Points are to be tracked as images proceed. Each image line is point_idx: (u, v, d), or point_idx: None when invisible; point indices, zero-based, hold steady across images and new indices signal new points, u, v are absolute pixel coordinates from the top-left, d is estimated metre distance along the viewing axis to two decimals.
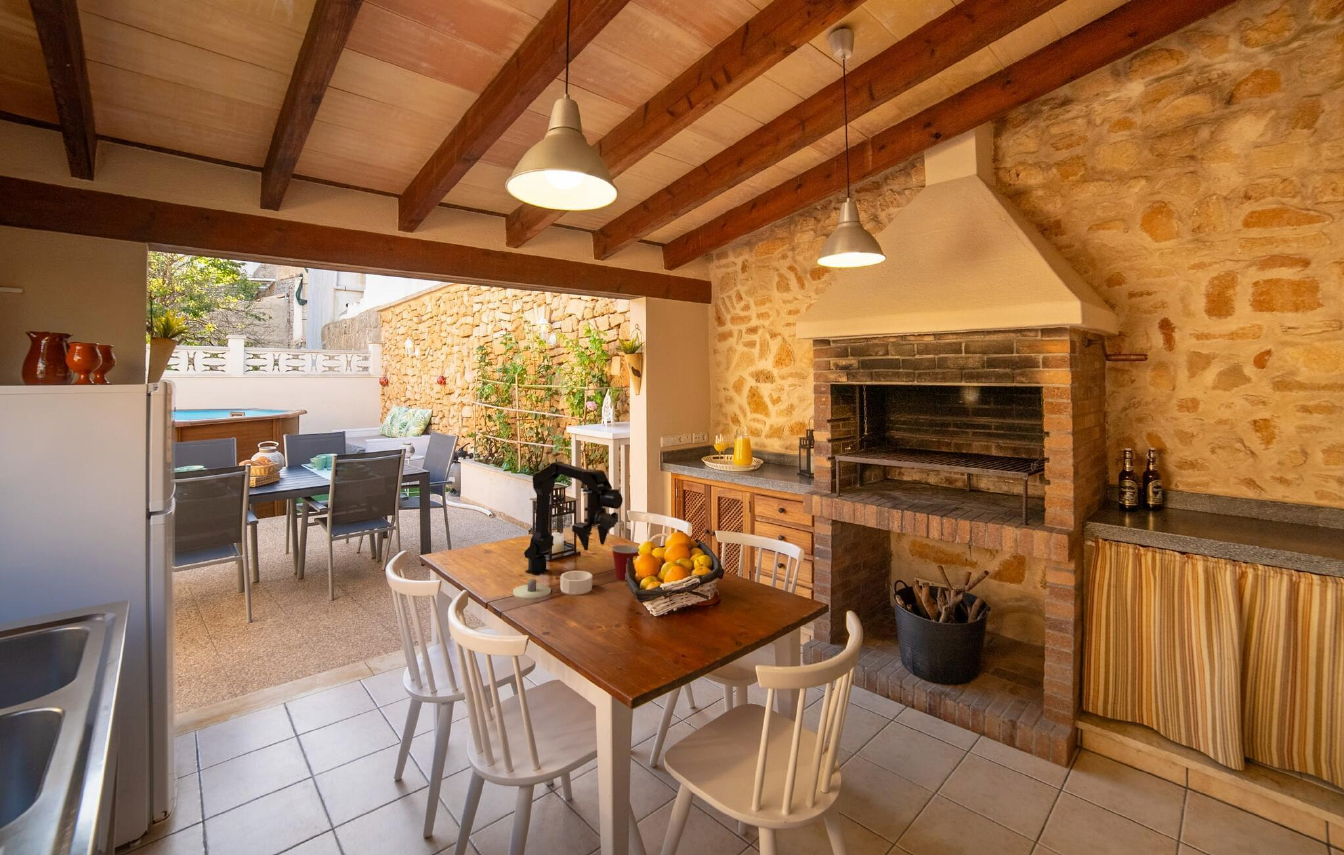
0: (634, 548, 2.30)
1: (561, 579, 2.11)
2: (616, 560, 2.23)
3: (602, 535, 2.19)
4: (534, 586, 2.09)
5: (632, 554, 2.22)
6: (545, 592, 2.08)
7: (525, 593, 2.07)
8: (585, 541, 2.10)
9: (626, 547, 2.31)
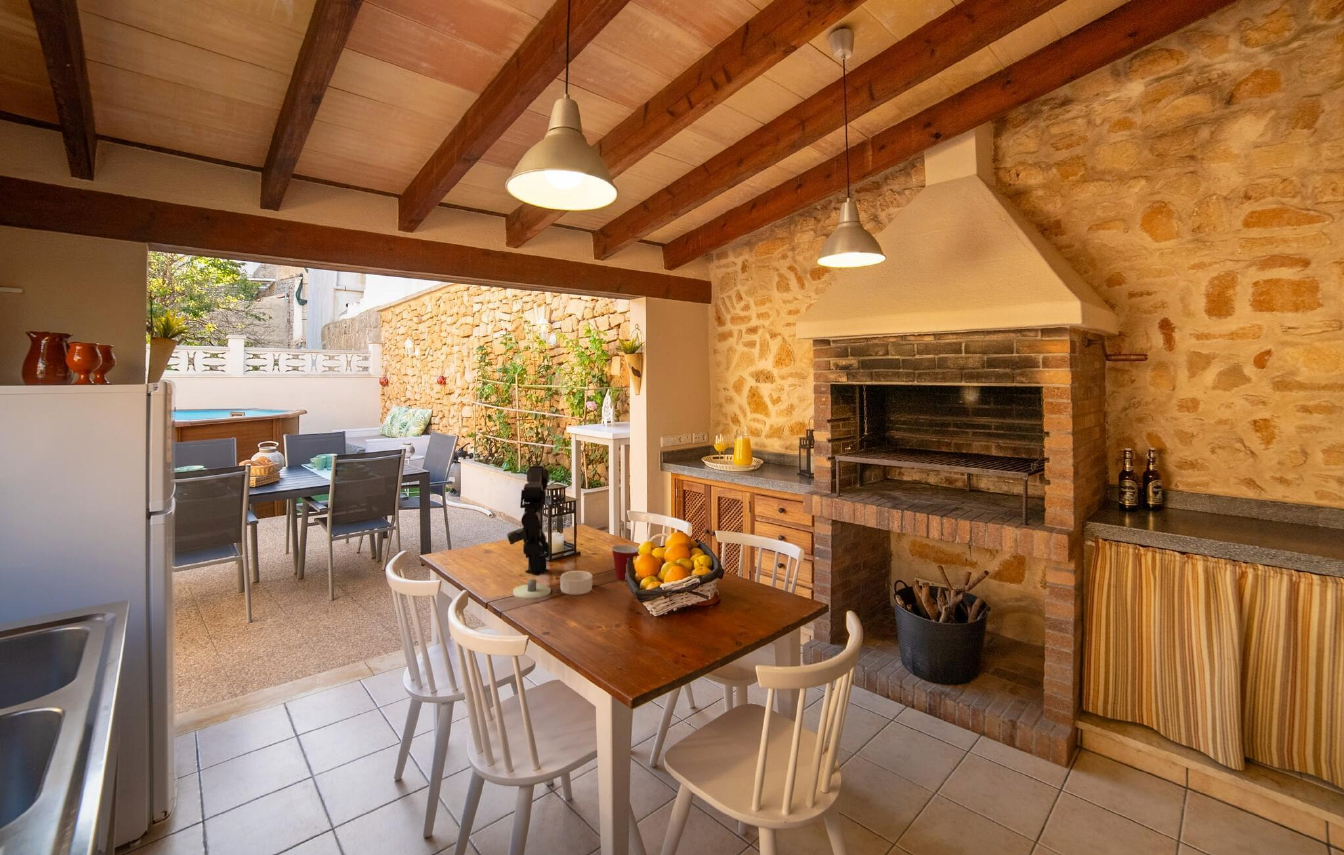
0: (634, 548, 2.30)
1: (561, 579, 2.11)
2: (616, 560, 2.23)
3: None
4: (534, 586, 2.09)
5: (632, 554, 2.22)
6: (545, 592, 2.08)
7: (525, 593, 2.07)
8: None
9: (626, 547, 2.31)
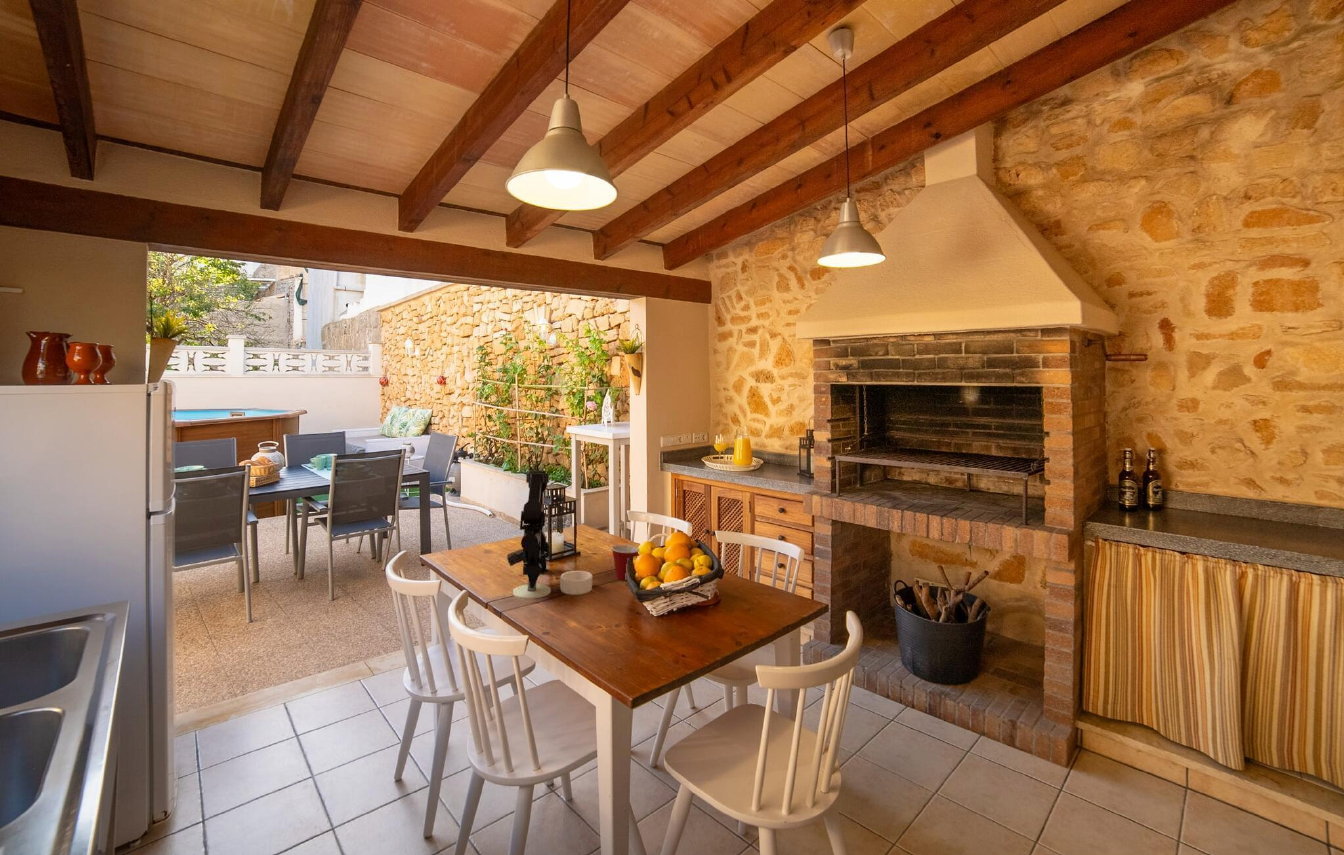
0: (634, 548, 2.30)
1: (561, 579, 2.11)
2: (616, 560, 2.23)
3: None
4: (534, 586, 2.09)
5: (632, 554, 2.22)
6: (545, 592, 2.08)
7: (525, 593, 2.07)
8: None
9: (626, 547, 2.31)
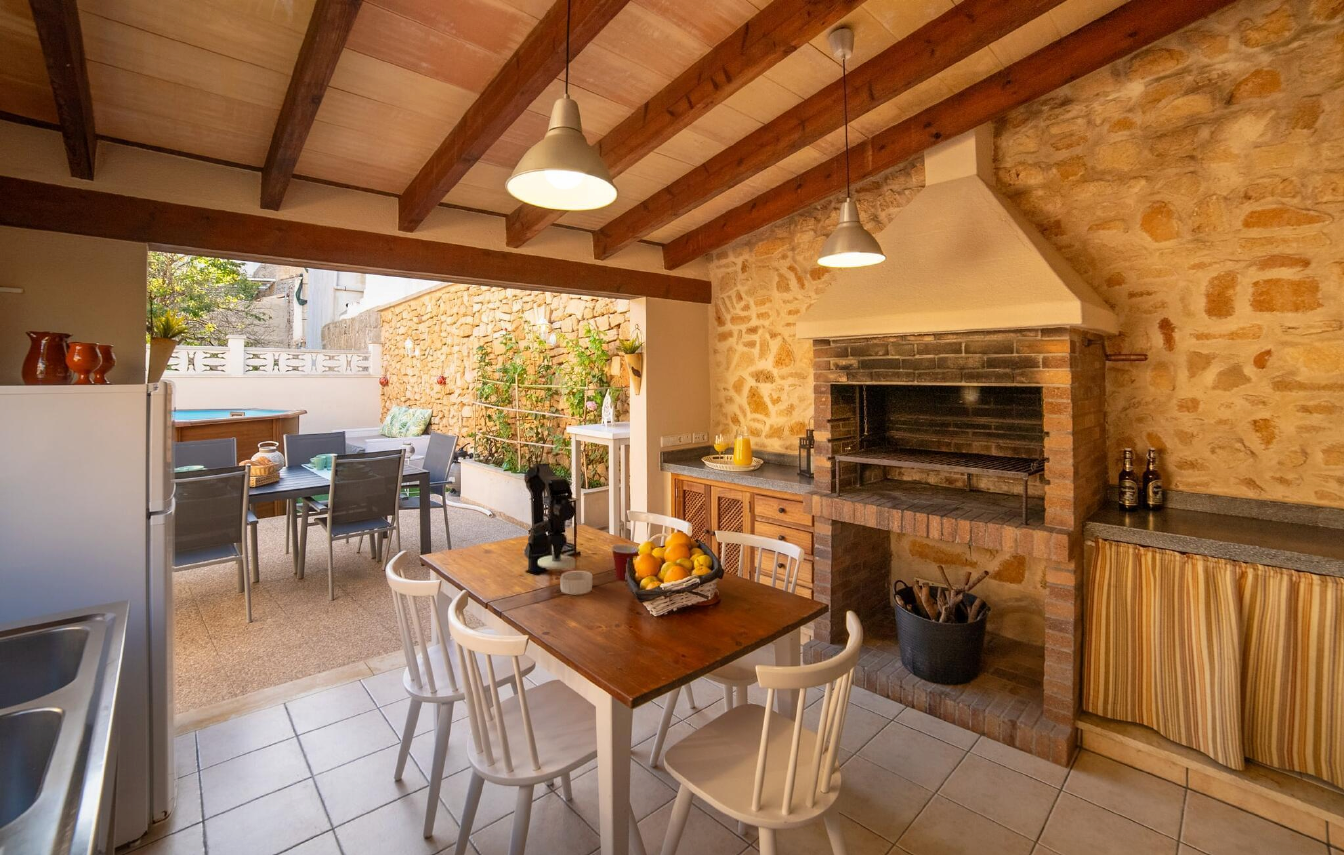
0: (634, 548, 2.30)
1: (561, 579, 2.11)
2: (616, 560, 2.23)
3: None
4: (559, 556, 2.10)
5: (632, 554, 2.22)
6: (569, 562, 2.09)
7: (550, 563, 2.08)
8: None
9: (626, 547, 2.31)
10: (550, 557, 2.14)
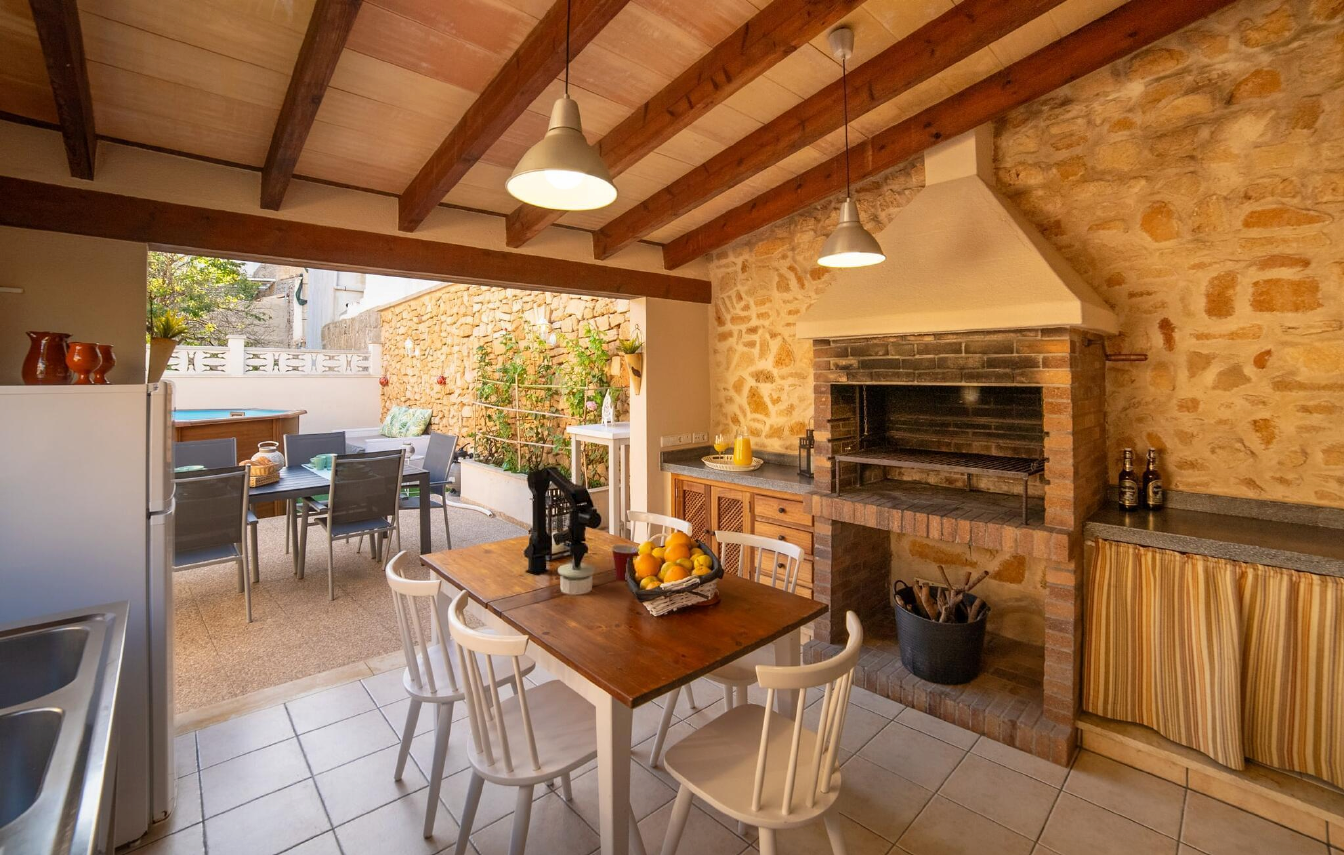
0: (634, 548, 2.30)
1: (561, 579, 2.11)
2: (616, 560, 2.23)
3: None
4: None
5: (632, 554, 2.22)
6: (590, 570, 2.11)
7: (570, 571, 2.10)
8: None
9: (626, 547, 2.31)
10: (569, 565, 2.16)
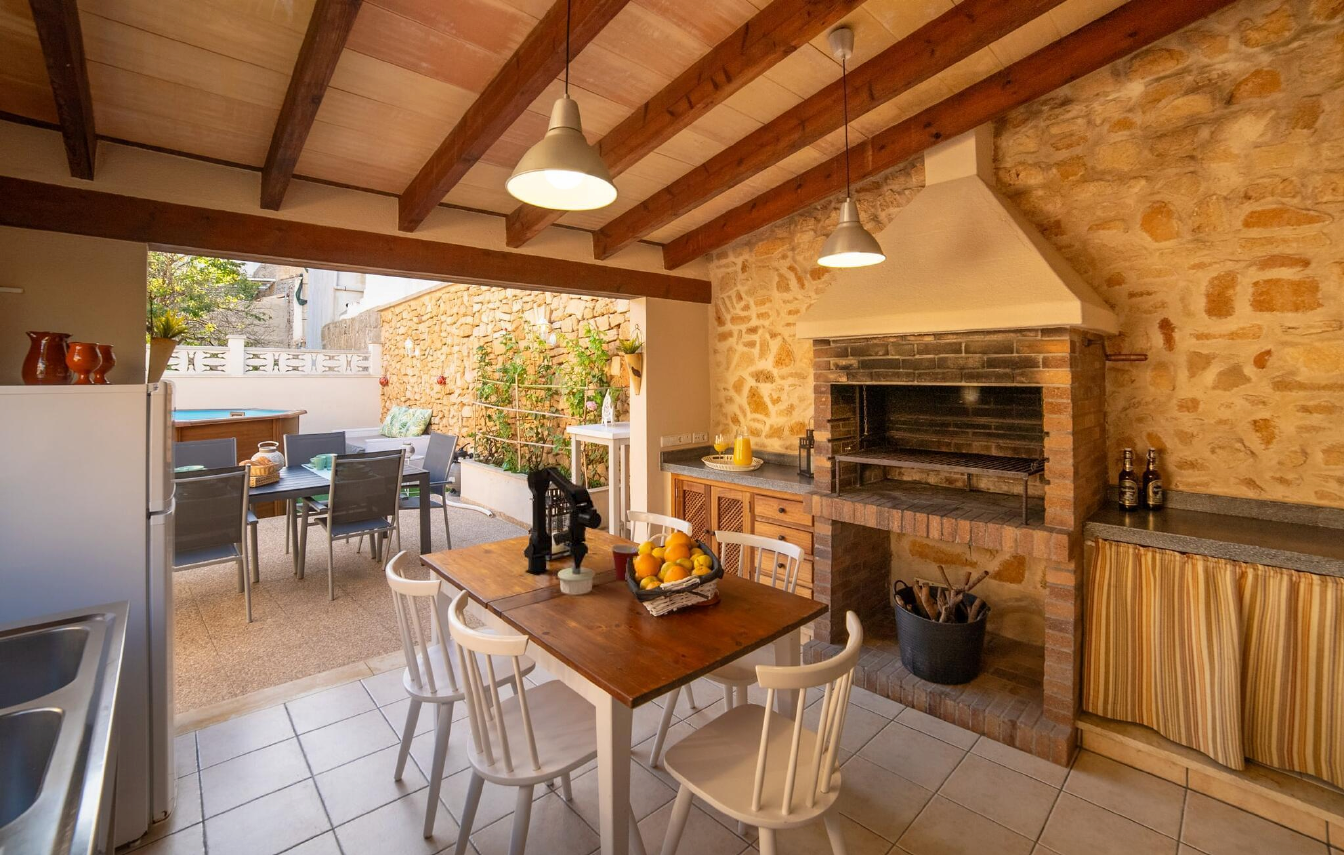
0: (634, 548, 2.30)
1: None
2: (616, 560, 2.23)
3: None
4: (579, 569, 2.12)
5: (632, 554, 2.22)
6: (590, 575, 2.11)
7: (570, 575, 2.10)
8: None
9: (626, 547, 2.31)
10: (569, 570, 2.16)
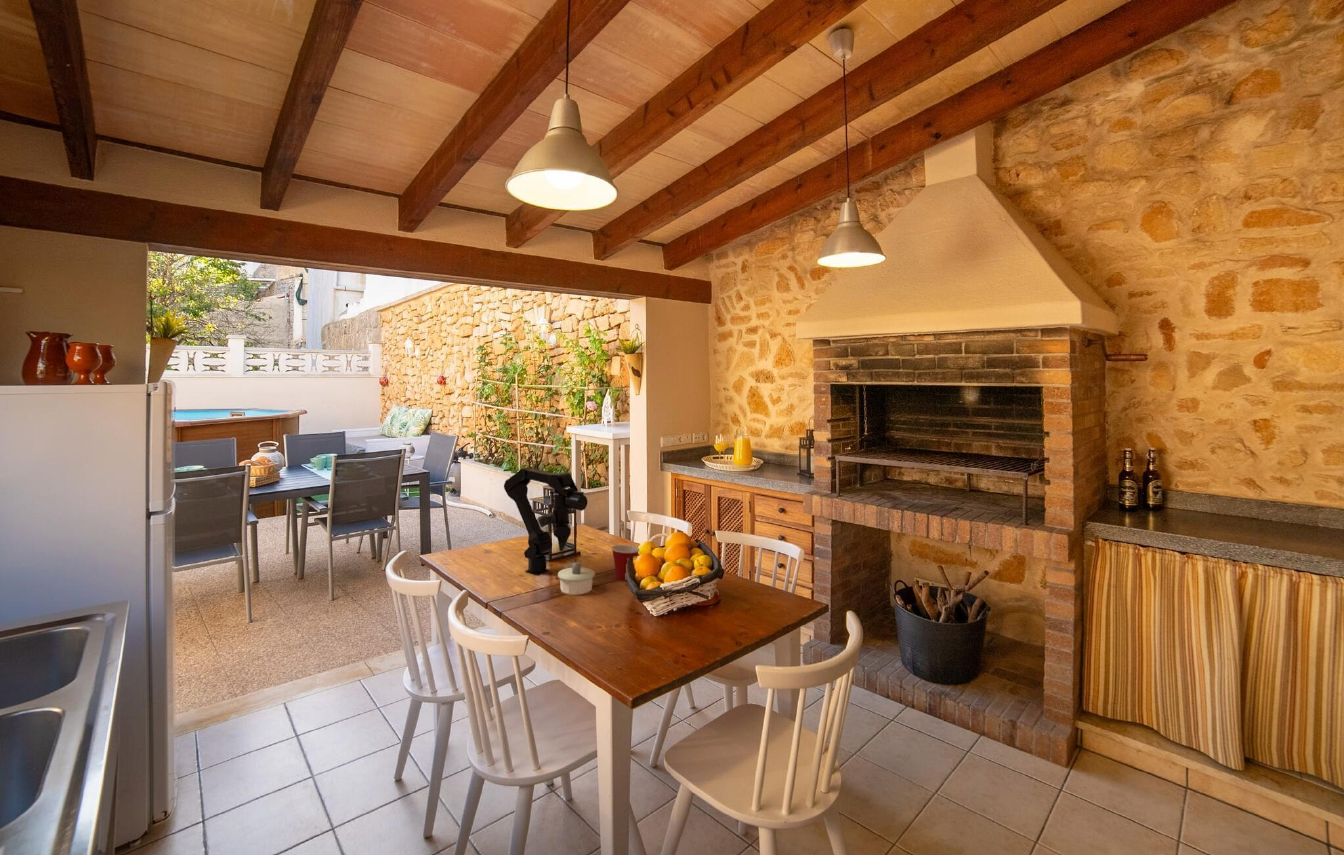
0: (634, 548, 2.30)
1: None
2: (616, 560, 2.23)
3: None
4: (579, 569, 2.12)
5: (632, 554, 2.22)
6: (590, 575, 2.11)
7: (570, 575, 2.10)
8: None
9: (626, 547, 2.31)
10: (569, 570, 2.16)
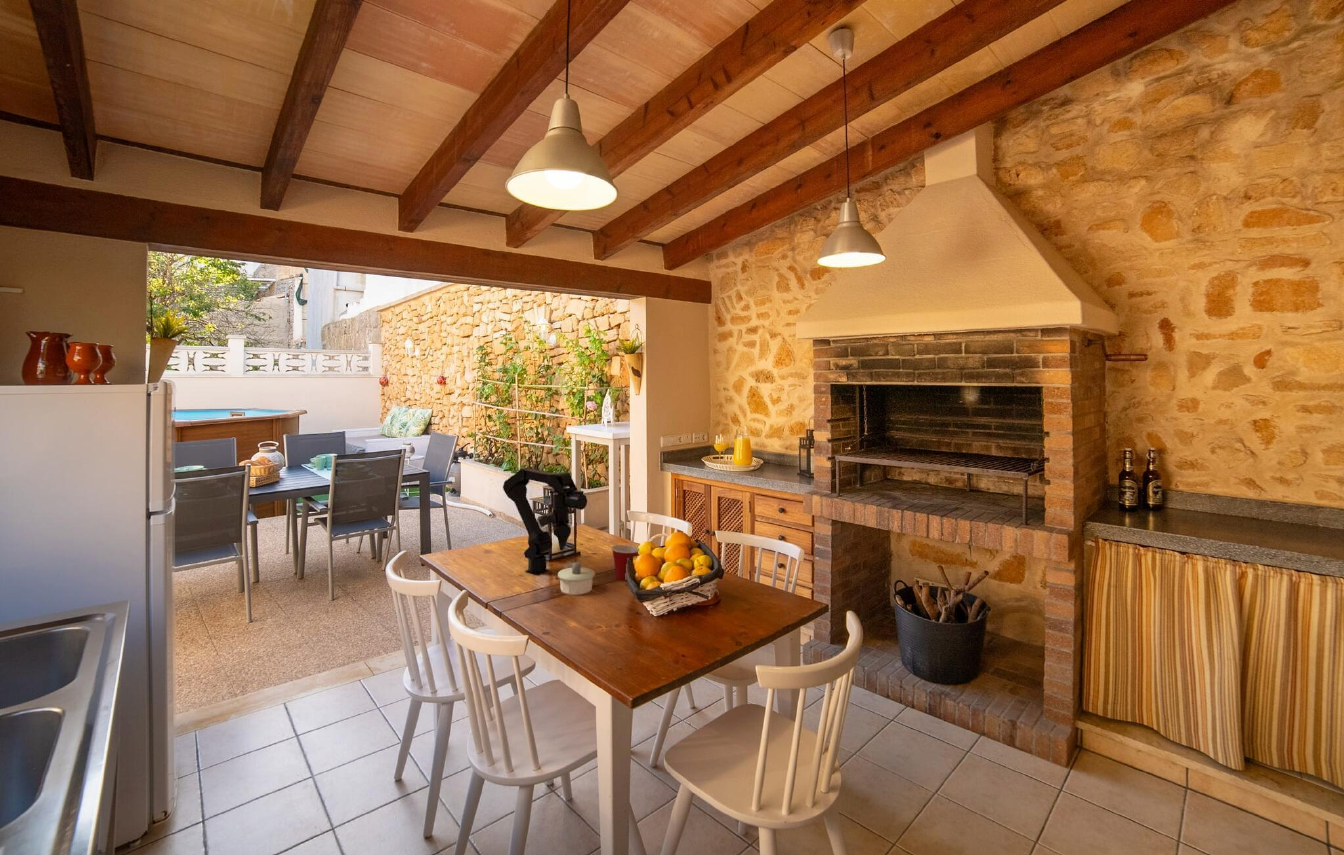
0: (634, 548, 2.30)
1: None
2: (616, 560, 2.23)
3: None
4: (579, 569, 2.12)
5: (632, 554, 2.22)
6: (590, 575, 2.11)
7: (570, 575, 2.10)
8: None
9: (626, 547, 2.31)
10: (569, 570, 2.16)
